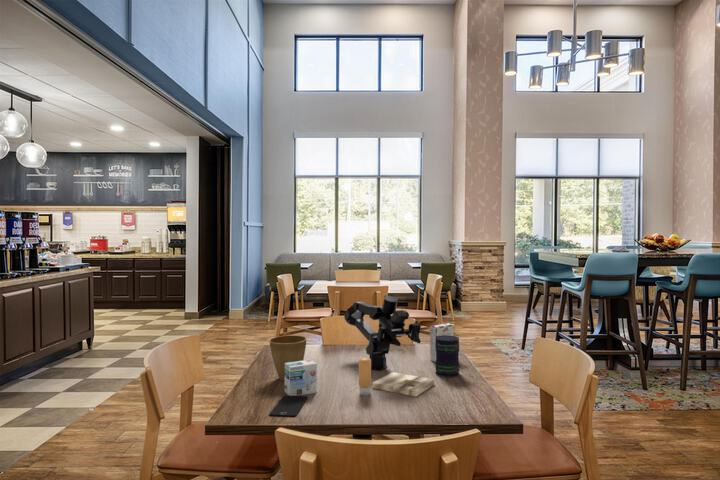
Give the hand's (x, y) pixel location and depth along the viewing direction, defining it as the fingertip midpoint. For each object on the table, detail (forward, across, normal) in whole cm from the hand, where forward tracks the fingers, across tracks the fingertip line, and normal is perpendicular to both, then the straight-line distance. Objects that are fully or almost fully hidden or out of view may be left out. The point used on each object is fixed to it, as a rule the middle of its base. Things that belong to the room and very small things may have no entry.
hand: (410, 343), depth 176 cm
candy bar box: (-16, +33, +22) cm, 43 cm away
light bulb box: (-6, -40, +19) cm, 45 cm away
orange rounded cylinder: (+6, -20, +14) cm, 26 cm away
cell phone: (+5, -49, +16) cm, 51 cm away
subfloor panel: (+6, -4, +15) cm, 16 cm away
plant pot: (-23, -39, +25) cm, 52 cm away
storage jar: (+1, +21, +16) cm, 27 cm away
